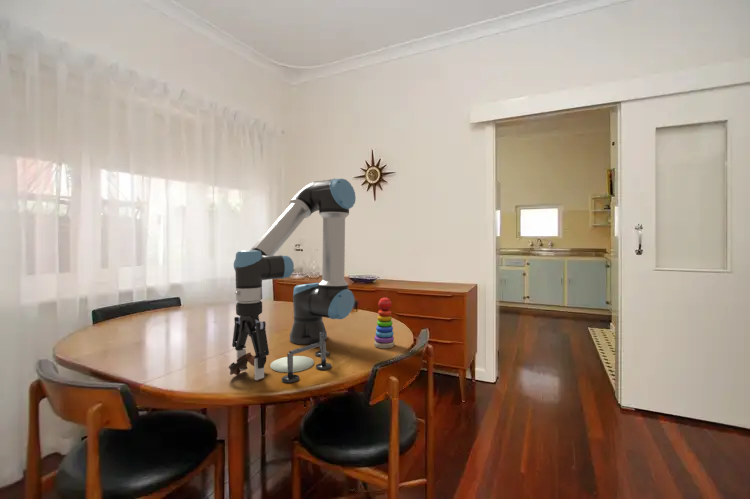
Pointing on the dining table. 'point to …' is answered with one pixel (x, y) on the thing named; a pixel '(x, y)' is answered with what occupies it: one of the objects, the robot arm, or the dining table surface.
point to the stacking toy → (384, 325)
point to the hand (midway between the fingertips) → (250, 374)
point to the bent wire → (322, 353)
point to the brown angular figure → (243, 364)
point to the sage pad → (298, 364)
